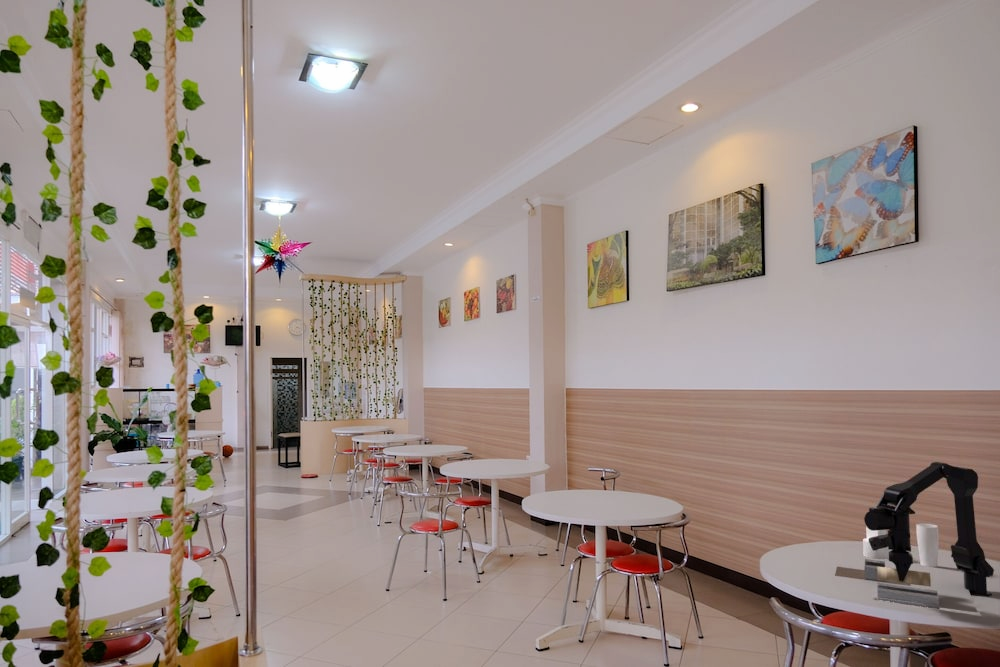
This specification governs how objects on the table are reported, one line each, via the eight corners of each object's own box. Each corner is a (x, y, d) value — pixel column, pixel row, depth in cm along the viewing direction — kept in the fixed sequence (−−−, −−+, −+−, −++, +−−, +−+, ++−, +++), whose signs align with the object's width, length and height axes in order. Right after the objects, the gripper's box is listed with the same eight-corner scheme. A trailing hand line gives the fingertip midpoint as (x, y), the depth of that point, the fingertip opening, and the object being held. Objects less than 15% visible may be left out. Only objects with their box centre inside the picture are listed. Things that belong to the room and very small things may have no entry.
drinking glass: (944, 570, 236) (942, 527, 237) (925, 570, 236) (923, 527, 237) (932, 564, 243) (930, 523, 244) (913, 564, 243) (912, 523, 244)
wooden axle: (930, 584, 205) (929, 571, 205) (930, 588, 201) (930, 575, 201) (877, 577, 212) (877, 564, 212) (877, 581, 208) (877, 568, 208)
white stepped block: (895, 560, 249) (894, 527, 250) (871, 560, 249) (870, 527, 250) (882, 553, 258) (881, 522, 259) (858, 553, 258) (857, 522, 259)
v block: (937, 600, 206) (936, 590, 206) (939, 609, 198) (939, 599, 198) (877, 591, 214) (877, 582, 214) (877, 600, 206) (877, 590, 206)
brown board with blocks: (909, 578, 227) (908, 563, 227) (910, 588, 216) (909, 573, 217) (837, 569, 238) (836, 555, 238) (834, 578, 227) (834, 563, 228)
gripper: (870, 519, 220) (872, 567, 219) (869, 531, 204) (871, 583, 203) (909, 523, 214) (911, 572, 213) (911, 536, 198) (914, 589, 197)
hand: (901, 579), depth 207 cm, fingers closed on wooden axle, 4 cm apart
